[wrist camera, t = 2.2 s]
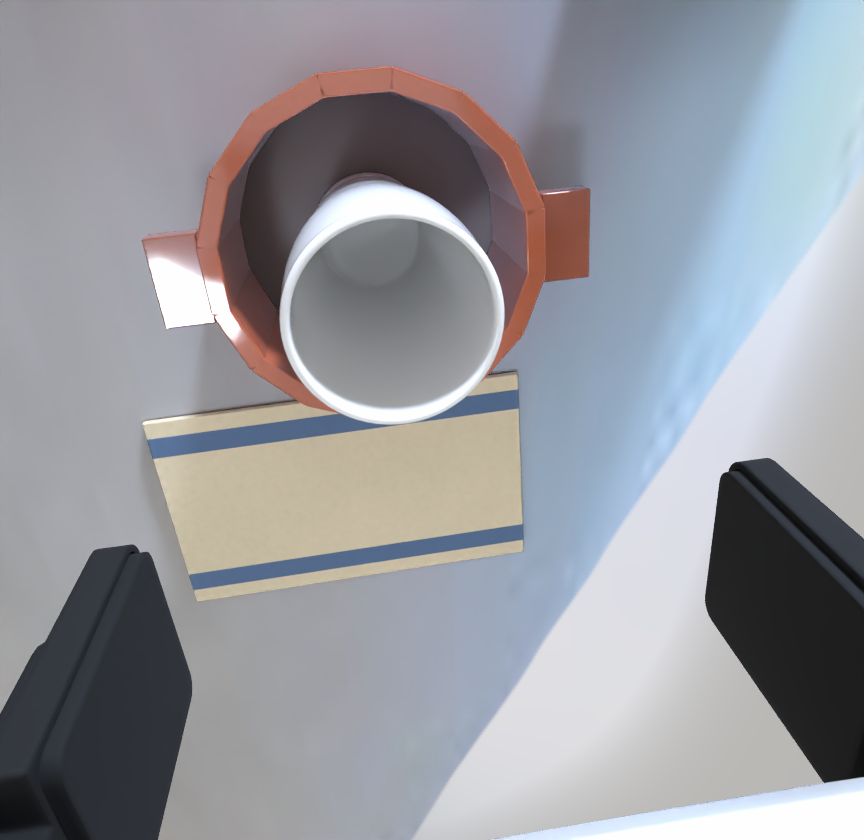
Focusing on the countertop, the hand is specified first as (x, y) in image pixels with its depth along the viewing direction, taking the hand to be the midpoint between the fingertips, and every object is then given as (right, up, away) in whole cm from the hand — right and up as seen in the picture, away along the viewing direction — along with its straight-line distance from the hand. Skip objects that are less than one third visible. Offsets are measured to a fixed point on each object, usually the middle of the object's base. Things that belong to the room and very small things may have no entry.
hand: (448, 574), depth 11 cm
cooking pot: (-3, +12, +22) cm, 25 cm away
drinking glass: (-3, +12, +22) cm, 26 cm away
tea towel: (-5, -1, +28) cm, 29 cm away
